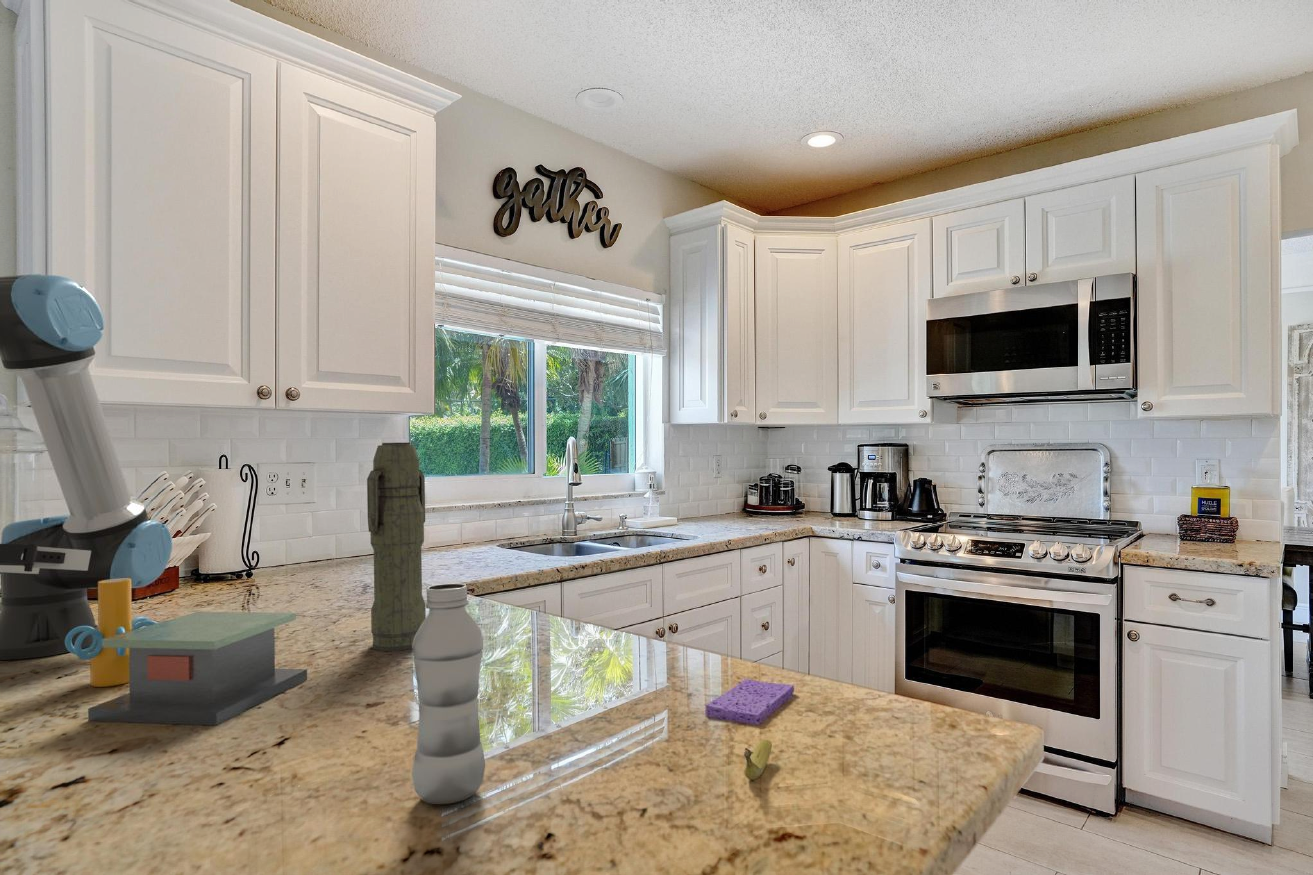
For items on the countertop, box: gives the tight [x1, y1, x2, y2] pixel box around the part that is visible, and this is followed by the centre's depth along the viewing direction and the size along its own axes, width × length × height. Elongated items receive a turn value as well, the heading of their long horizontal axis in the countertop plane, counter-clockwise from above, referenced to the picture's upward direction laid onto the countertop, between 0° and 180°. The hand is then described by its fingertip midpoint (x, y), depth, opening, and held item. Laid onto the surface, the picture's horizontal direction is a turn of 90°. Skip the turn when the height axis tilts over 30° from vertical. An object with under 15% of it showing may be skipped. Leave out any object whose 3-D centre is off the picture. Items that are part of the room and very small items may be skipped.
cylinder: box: [65, 578, 158, 688], centre depth 109 cm, size 12×10×15 cm
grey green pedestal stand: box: [87, 611, 308, 726], centre depth 100 cm, size 18×18×10 cm
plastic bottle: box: [411, 582, 486, 805], centre depth 70 cm, size 6×7×20 cm
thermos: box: [366, 442, 427, 652], centre depth 127 cm, size 9×12×35 cm
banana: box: [743, 739, 773, 781], centre depth 73 cm, size 8×2×4 cm, turn 160°
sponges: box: [705, 678, 795, 726], centre depth 93 cm, size 7×13×2 cm, turn 150°
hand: (63, 562), depth 104 cm, fingers open, 13 cm apart
